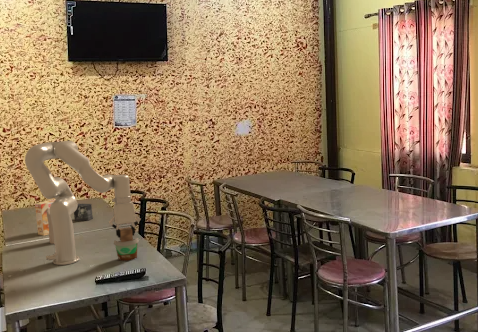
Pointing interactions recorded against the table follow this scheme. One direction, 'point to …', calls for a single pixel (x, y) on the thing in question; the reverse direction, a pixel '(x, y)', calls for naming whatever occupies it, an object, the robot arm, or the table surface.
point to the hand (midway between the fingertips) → (125, 235)
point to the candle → (50, 227)
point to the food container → (126, 249)
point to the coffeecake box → (42, 217)
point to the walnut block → (126, 234)
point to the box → (83, 212)
